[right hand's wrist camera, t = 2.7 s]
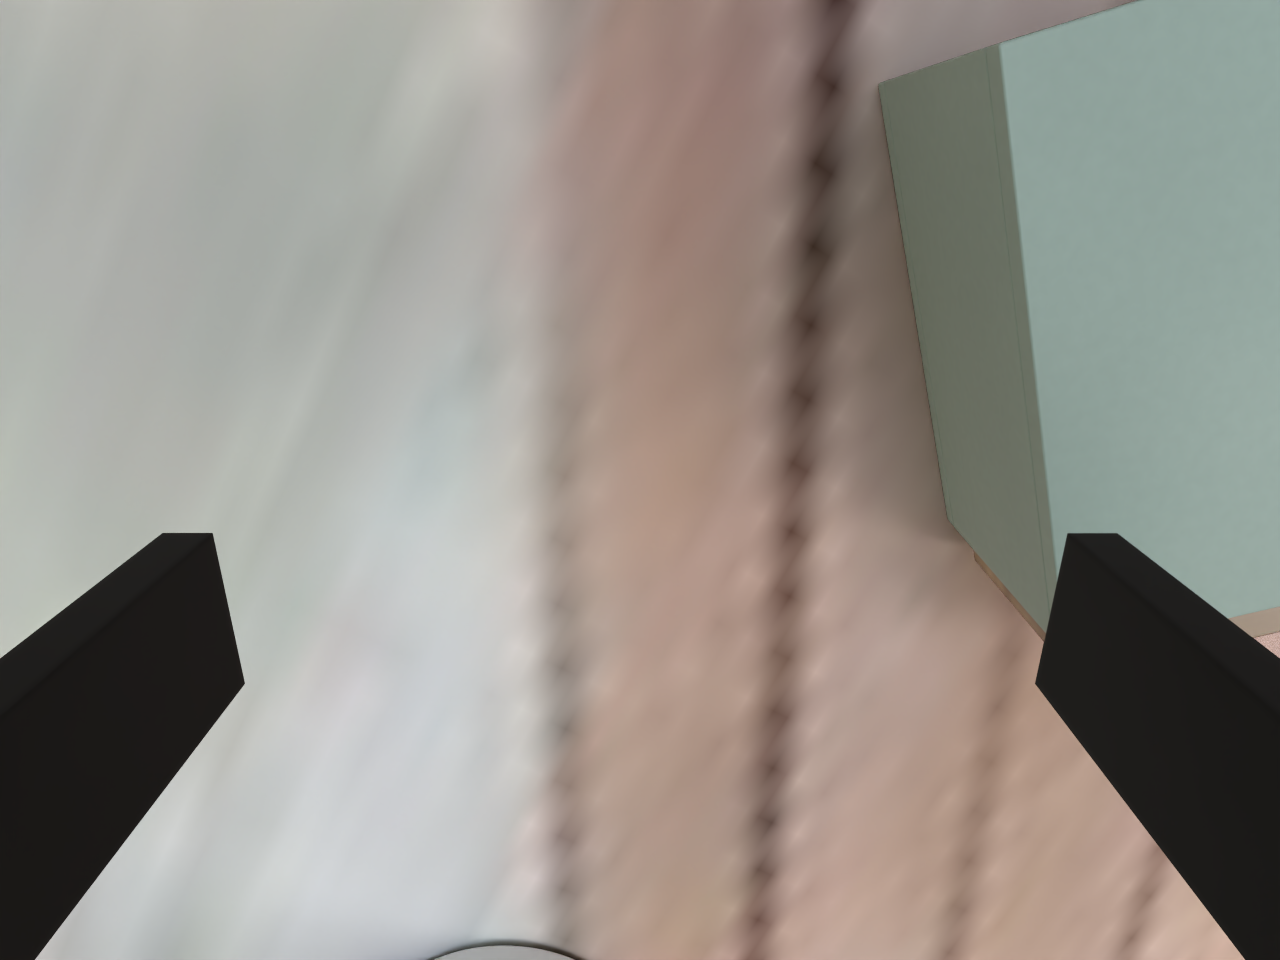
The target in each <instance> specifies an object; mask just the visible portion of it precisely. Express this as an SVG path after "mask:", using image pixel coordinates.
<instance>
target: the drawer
mask: <svg viewBox="0 0 1280 960" xmlns="http://www.w3.org/2000/svg"><path fill="white" fill-rule="evenodd" d="M974 557H975V561H976V562H977V563H978V564H979V565H980V567H981V568H982V569H983V570H984V571H985V573H986V574H987V575H988V576H989V577H990V578H991V580H992V581H993V582H994V583H995V584H996V586H997V587H998V588H999V589H1000V590H1001V591H1002V593H1003V594H1004V595H1005V596H1006V597H1007V599H1008V600H1009V601H1010V602H1011V603H1012V604H1013V606H1014V607H1015V608H1016V609H1017V610H1018V612H1019V613H1020V614H1021V615H1022V616H1023V617H1024V619H1025V620H1026V621H1027V622H1028V623H1029V625H1030V626H1031V627H1032V628H1033V629H1034V631H1035V632H1036V633H1037V634H1038V635H1039V636H1040V638H1041V639H1042V640H1043V641H1044V640H1045V635H1046V633H1045V632H1044V631H1043V629H1042V628H1041V627H1040V626H1039V625H1038V624H1037V623H1036V621H1035V620H1034V619H1033V618H1032V617H1031V616H1030V614H1029V613H1028V612H1027V611H1026V610H1025V609H1024V607H1023V606H1022V605H1021V604H1020V603H1019V602H1018V601H1017V599H1016V598H1015V597H1014V596H1013V595H1012V594H1011V592H1010V591H1009V590H1008V589H1007V588H1006V587H1005V586H1004V584H1003V583H1002V582H1001V581H1000V580H999V579H998V577H997V576H996V575H995V574H994V573H993V572H992V570H991V569H990V568H989V567H988V566H987V565H986V564H985V562H984V561H983V560H982V559H981V558H980V557H979V555H978V554H977V553H976V552H975V551H974ZM1228 619H1229V620H1230V621H1232V622H1233V623H1234V624H1236V625H1237V626H1238V627H1240V628H1241V629H1242V630H1243V631H1245V632H1246V633H1247V634H1249V635H1250V636H1251V637H1252V638H1255V637H1259V636H1264V635H1268V634H1272V633H1277V632H1280V607H1275V608H1271V609H1267V610H1262V611H1258V612H1254V613H1249V614H1245V615H1241V616H1236V617H1232V618H1228Z"/></svg>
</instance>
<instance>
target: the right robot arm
mask: <svg viewBox="0 0 1280 960" xmlns="http://www.w3.org/2000/svg"><path fill="white" fill-rule="evenodd" d="M244 684H245V682H244V677H243V673H242V668H241V663H240V659H239V654H238V649H237V645H236V640H235V635H234V631H233V626H232V621H231V617H230V612H229V607H228V603H227V598H226V594H225V589H224V584H223V580H222V575H221V570H220V566H219V561H218V556H217V552H216V547H215V542H214V538H213V533H162V534H161V535H160V536H158V537H157V538H156V539H154V540H153V541H152V542H151V543H149V544H148V545H147V546H145V547H144V548H143V549H141V550H140V551H139V552H138V553H136V554H135V555H134V556H132V557H131V558H130V559H129V560H127V561H126V562H125V563H123V564H122V565H121V566H119V567H118V568H117V569H116V570H114V571H113V572H112V573H110V574H109V575H108V576H107V577H105V578H104V579H103V580H101V581H100V582H99V583H97V584H96V585H95V586H94V587H92V588H91V589H90V590H88V591H87V592H86V593H85V594H83V595H82V596H81V597H79V598H78V599H77V600H75V601H74V602H73V603H72V604H70V605H69V606H68V607H66V608H65V609H64V610H63V611H61V612H60V613H59V614H57V615H56V616H55V617H53V618H52V619H51V620H50V621H48V622H47V623H46V624H44V625H43V626H42V627H40V628H39V629H38V630H37V631H35V632H34V633H33V634H31V635H30V636H29V637H28V638H26V639H25V640H24V641H22V642H21V643H20V644H18V645H17V646H16V647H15V648H13V649H12V650H11V651H9V652H8V653H7V654H6V655H4V656H3V657H2V658H0V960H35V959H36V957H37V956H38V955H39V953H40V952H41V951H42V949H43V948H44V947H45V946H46V944H47V943H48V942H49V940H50V939H51V938H52V936H53V935H54V934H55V932H56V931H57V930H58V928H59V927H60V926H61V925H62V923H63V922H64V921H65V919H66V918H67V917H68V915H69V914H70V913H71V911H72V910H73V909H74V907H75V906H76V905H77V904H78V902H79V901H80V900H81V898H82V897H83V896H84V894H85V893H86V892H87V890H88V889H89V888H90V886H91V885H92V884H93V882H94V881H95V880H96V879H97V877H98V876H99V875H100V873H101V872H102V871H103V869H104V868H105V867H106V865H107V864H108V863H109V861H110V860H111V859H112V858H113V856H114V855H115V854H116V852H117V851H118V850H119V848H120V847H121V846H122V844H123V843H124V842H125V840H126V839H127V838H128V836H129V835H130V834H131V833H132V831H133V830H134V829H135V827H136V826H137V825H138V823H139V822H140V821H141V819H142V818H143V817H144V815H145V814H146V813H147V812H148V810H149V809H150V808H151V806H152V805H153V804H154V802H155V801H156V800H157V798H158V797H159V796H160V794H161V793H162V792H163V791H164V789H165V788H166V787H167V785H168V784H169V783H170V781H171V780H172V779H173V777H174V776H175V775H176V773H177V772H178V771H179V769H180V768H181V767H182V766H183V764H184V763H185V762H186V760H187V759H188V758H189V756H190V755H191V754H192V752H193V751H194V750H195V748H196V747H197V746H198V745H199V743H200V742H201V741H202V739H203V738H204V737H205V735H206V734H207V733H208V731H209V730H210V729H211V727H212V726H213V725H214V723H215V722H216V721H217V720H218V718H219V717H220V716H221V714H222V713H223V712H224V710H225V709H226V708H227V706H228V705H229V704H230V702H231V701H232V700H233V699H234V697H235V696H236V695H237V693H238V692H239V691H240V689H241V688H242V687H243V685H244ZM1035 684H1036V685H1037V687H1038V688H1039V689H1040V691H1041V692H1042V693H1043V695H1044V696H1045V697H1046V699H1047V700H1048V701H1049V702H1050V704H1051V705H1052V706H1053V708H1054V709H1055V710H1056V712H1057V713H1058V714H1059V716H1060V717H1061V718H1062V720H1063V721H1064V722H1065V723H1066V725H1067V726H1068V727H1069V729H1070V730H1071V731H1072V733H1073V734H1074V735H1075V737H1076V738H1077V739H1078V741H1079V742H1080V743H1081V745H1082V746H1083V747H1084V748H1085V750H1086V751H1087V752H1088V754H1089V755H1090V756H1091V758H1092V759H1093V760H1094V762H1095V763H1096V764H1097V766H1098V767H1099V768H1100V769H1101V771H1102V772H1103V773H1104V775H1105V776H1106V777H1107V779H1108V780H1109V781H1110V783H1111V784H1112V785H1113V787H1114V788H1115V789H1116V791H1117V792H1118V793H1119V794H1120V796H1121V797H1122V798H1123V800H1124V801H1125V802H1126V804H1127V805H1128V806H1129V808H1130V809H1131V810H1132V812H1133V813H1134V814H1135V815H1136V817H1137V818H1138V819H1139V821H1140V822H1141V823H1142V825H1143V826H1144V827H1145V829H1146V830H1147V831H1148V833H1149V834H1150V835H1151V836H1152V838H1153V839H1154V840H1155V842H1156V843H1157V844H1158V846H1159V847H1160V848H1161V850H1162V851H1163V852H1164V854H1165V855H1166V856H1167V858H1168V859H1169V860H1170V861H1171V863H1172V864H1173V865H1174V867H1175V868H1176V869H1177V871H1178V872H1179V873H1180V875H1181V876H1182V877H1183V879H1184V880H1185V881H1186V882H1187V884H1188V885H1189V886H1190V888H1191V889H1192V890H1193V892H1194V893H1195V894H1196V896H1197V897H1198V898H1199V900H1200V901H1201V902H1202V903H1203V905H1204V906H1205V907H1206V909H1207V910H1208V911H1209V913H1210V914H1211V915H1212V917H1213V918H1214V919H1215V921H1216V922H1217V923H1218V925H1219V926H1220V927H1221V928H1222V930H1223V931H1224V932H1225V934H1226V935H1227V936H1228V938H1229V939H1230V940H1231V942H1232V943H1233V944H1234V946H1235V947H1236V948H1237V949H1238V951H1239V952H1240V953H1241V955H1242V956H1243V957H1244V959H1245V960H1280V658H1278V657H1277V656H1276V655H1274V654H1273V653H1272V652H1271V651H1269V650H1268V649H1267V648H1265V647H1264V646H1263V645H1262V644H1260V643H1259V642H1258V641H1256V640H1255V639H1254V638H1252V637H1251V636H1250V635H1249V634H1247V633H1246V632H1245V631H1243V630H1242V629H1241V628H1240V627H1238V626H1237V625H1236V624H1234V623H1233V622H1232V621H1230V620H1229V619H1228V618H1227V617H1225V616H1224V615H1223V614H1221V613H1220V612H1219V611H1217V610H1216V609H1215V608H1214V607H1212V606H1211V605H1210V604H1208V603H1207V602H1206V601H1205V600H1203V599H1202V598H1201V597H1199V596H1198V595H1197V594H1195V593H1194V592H1193V591H1192V590H1190V589H1189V588H1188V587H1186V586H1185V585H1184V584H1183V583H1181V582H1180V581H1179V580H1177V579H1176V578H1175V577H1173V576H1172V575H1171V574H1170V573H1168V572H1167V571H1166V570H1164V569H1163V568H1162V567H1161V566H1159V565H1158V564H1157V563H1155V562H1154V561H1153V560H1151V559H1150V558H1149V557H1148V556H1146V555H1145V554H1144V553H1142V552H1141V551H1140V550H1139V549H1137V548H1136V547H1135V546H1133V545H1132V544H1131V543H1129V542H1128V541H1127V540H1126V539H1124V538H1123V537H1122V536H1120V535H1119V534H1118V533H1067V538H1066V542H1065V547H1064V552H1063V556H1062V561H1061V566H1060V570H1059V575H1058V580H1057V584H1056V589H1055V594H1054V598H1053V603H1052V607H1051V612H1050V617H1049V621H1048V626H1047V631H1046V635H1045V640H1044V645H1043V649H1042V654H1041V659H1040V663H1039V668H1038V673H1037V677H1036V682H1035Z"/></svg>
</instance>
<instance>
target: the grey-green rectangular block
mask: <svg viewBox="0 0 1280 960" xmlns="http://www.w3.org/2000/svg"><path fill="white" fill-rule="evenodd" d="M878 87H879V93H880V99H881V106H882V112H883V118H884V124H885V131H886V137H887V143H888V149H889V156H890V162H891V168H892V174H893V181H894V187H895V193H896V199H897V206H898V212H899V218H900V224H901V231H902V237H903V243H904V249H905V256H906V262H907V268H908V274H909V281H910V287H911V293H912V299H913V306H914V312H915V318H916V324H917V331H918V337H919V343H920V349H921V356H922V362H923V368H924V374H925V381H926V387H927V393H928V399H929V406H930V412H931V418H932V424H933V431H934V437H935V443H936V450H937V456H938V462H939V468H940V475H941V481H942V487H943V493H944V500H945V506H946V512H947V518H948V520H949V521H950V522H951V524H952V525H953V526H954V527H955V529H956V530H957V531H958V532H959V533H960V535H961V536H962V537H963V538H964V539H965V540H966V542H967V543H968V544H969V545H970V546H971V547H972V548H973V550H974V551H975V552H976V553H977V554H978V555H979V557H980V558H981V559H982V560H983V561H984V562H985V564H986V565H987V566H988V567H989V568H990V569H991V570H992V572H993V573H994V574H995V575H996V576H997V577H998V579H999V580H1000V581H1001V582H1002V583H1003V584H1004V586H1005V587H1006V588H1007V589H1008V590H1009V591H1010V592H1011V594H1012V595H1013V596H1014V597H1015V598H1016V599H1017V601H1018V602H1019V603H1020V604H1021V605H1022V606H1023V607H1024V609H1025V610H1026V611H1027V612H1028V613H1029V614H1030V616H1031V617H1032V618H1033V619H1034V620H1035V621H1036V623H1037V624H1038V625H1039V626H1040V627H1041V628H1042V629H1043V631H1044V632H1045V633H1046V631H1047V626H1048V621H1049V617H1050V612H1051V607H1052V603H1053V598H1054V594H1055V589H1056V584H1057V580H1058V575H1059V570H1060V566H1061V561H1062V556H1063V552H1064V547H1065V542H1066V538H1067V533H1118V534H1119V535H1120V536H1122V537H1123V538H1124V539H1126V540H1127V541H1128V542H1129V543H1131V544H1132V545H1133V546H1135V547H1136V548H1137V549H1139V550H1140V551H1141V552H1142V553H1144V554H1145V555H1146V556H1148V557H1149V558H1150V559H1151V560H1153V561H1154V562H1155V563H1157V564H1158V565H1159V566H1161V567H1162V568H1163V569H1164V570H1166V571H1167V572H1168V573H1170V574H1171V575H1172V576H1173V577H1175V578H1176V579H1177V580H1179V581H1180V582H1181V583H1183V584H1184V585H1185V586H1186V587H1188V588H1189V589H1190V590H1192V591H1193V592H1194V593H1195V594H1197V595H1198V596H1199V597H1201V598H1202V599H1203V600H1205V601H1206V602H1207V603H1208V604H1210V605H1211V606H1212V607H1214V608H1215V609H1216V610H1217V611H1219V612H1220V613H1221V614H1223V615H1224V616H1225V617H1227V618H1232V617H1236V616H1241V615H1245V614H1249V613H1254V612H1258V611H1262V610H1267V609H1271V608H1275V607H1280V0H1137V1H1134V2H1130V3H1127V4H1124V5H1121V6H1117V7H1114V8H1111V9H1108V10H1104V11H1101V12H1098V13H1095V14H1091V15H1088V16H1085V17H1082V18H1079V19H1075V20H1072V21H1069V22H1066V23H1062V24H1059V25H1056V26H1053V27H1049V28H1046V29H1043V30H1040V31H1036V32H1033V33H1030V34H1027V35H1023V36H1020V37H1017V38H1014V39H1011V40H1007V41H1004V42H1001V43H998V44H995V45H992V46H989V47H986V48H983V49H980V50H977V51H974V52H971V53H968V54H965V55H962V56H959V57H956V58H953V59H950V60H947V61H944V62H941V63H938V64H935V65H932V66H929V67H926V68H923V69H920V70H917V71H914V72H911V73H908V74H905V75H902V76H899V77H896V78H893V79H890V80H887V81H884V82H881V83H880V84H879V86H878Z"/></svg>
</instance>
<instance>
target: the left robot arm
mask: <svg viewBox="0 0 1280 960" xmlns="http://www.w3.org/2000/svg"><path fill="white" fill-rule="evenodd" d="M434 960H574V959H572V958H570V957H567V956H564V955H561V954H558V953H554V952H551V951H546V950H542V949H537V948H531V947H523V946H504V945H502V946H484V947H476V948H470V949H465V950H461V951H457V952H453V953H450V954H447V955H444V956H442V957H439V958H437V959H434Z"/></svg>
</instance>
